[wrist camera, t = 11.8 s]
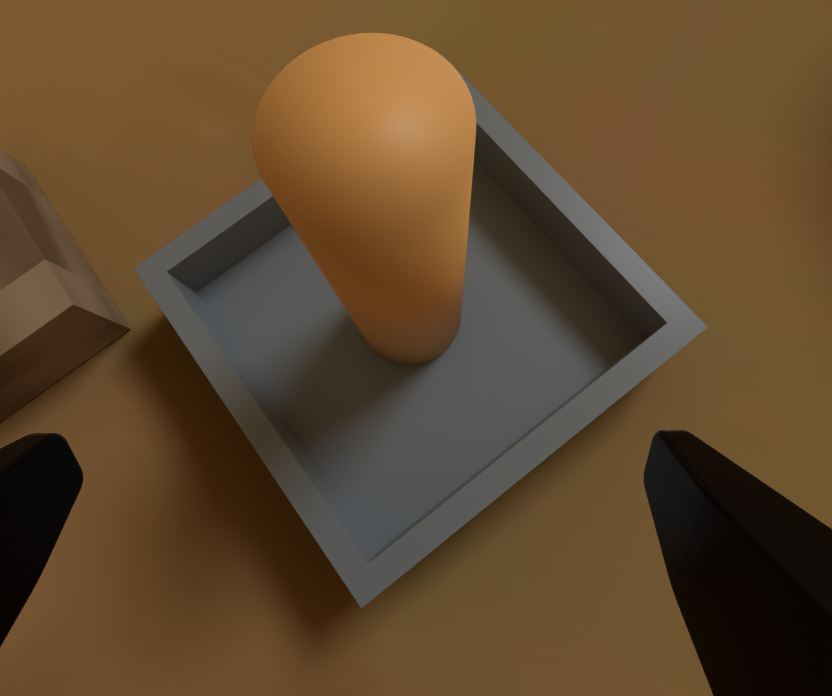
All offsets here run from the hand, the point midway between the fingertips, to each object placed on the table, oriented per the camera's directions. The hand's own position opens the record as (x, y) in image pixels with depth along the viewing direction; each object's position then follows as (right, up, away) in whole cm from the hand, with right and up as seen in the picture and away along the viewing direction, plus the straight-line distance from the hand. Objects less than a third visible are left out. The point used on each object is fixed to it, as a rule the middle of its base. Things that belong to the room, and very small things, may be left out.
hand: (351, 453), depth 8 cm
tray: (+1, +3, +11) cm, 11 cm away
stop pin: (+1, +3, +10) cm, 10 cm away
